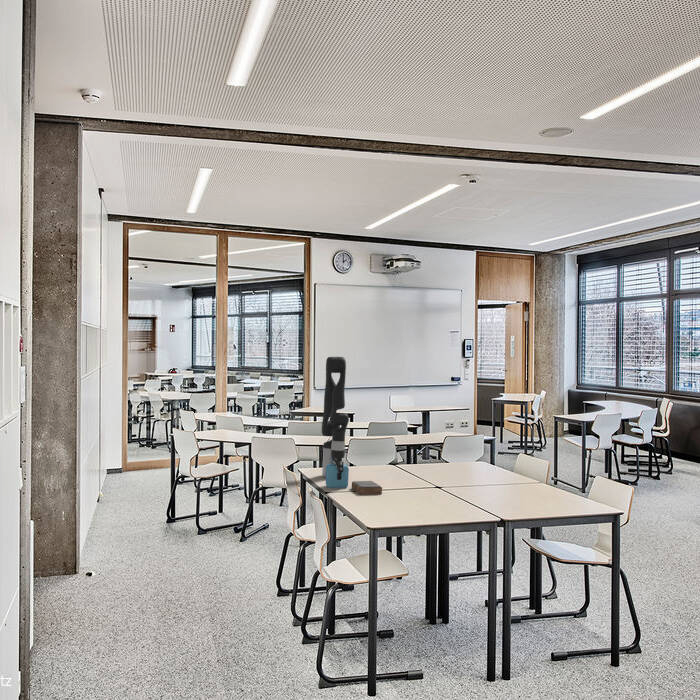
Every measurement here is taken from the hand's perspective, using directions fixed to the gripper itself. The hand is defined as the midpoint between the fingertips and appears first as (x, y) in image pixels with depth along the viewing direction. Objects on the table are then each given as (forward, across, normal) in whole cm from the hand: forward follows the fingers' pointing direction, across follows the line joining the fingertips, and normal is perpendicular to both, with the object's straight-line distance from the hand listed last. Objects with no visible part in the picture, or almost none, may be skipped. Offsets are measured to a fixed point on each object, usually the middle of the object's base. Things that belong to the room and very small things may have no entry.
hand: (336, 478), depth 353 cm
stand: (+5, +12, +13) cm, 19 cm away
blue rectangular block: (+5, 0, 0) cm, 5 cm away
